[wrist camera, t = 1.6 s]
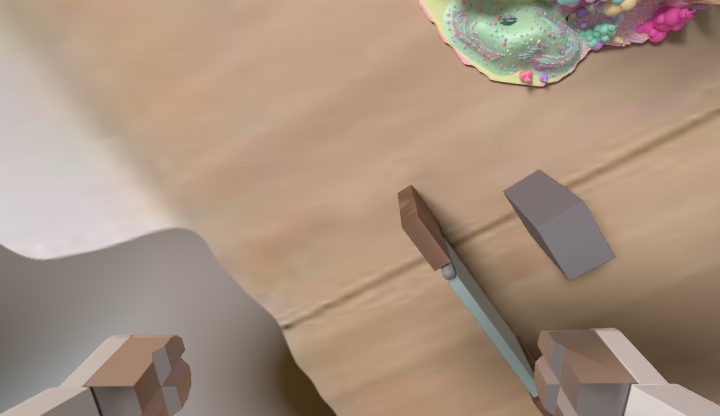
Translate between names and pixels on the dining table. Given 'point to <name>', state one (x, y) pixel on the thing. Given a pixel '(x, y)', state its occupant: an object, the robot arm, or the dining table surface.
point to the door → (488, 318)
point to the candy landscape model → (548, 31)
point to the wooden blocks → (438, 249)
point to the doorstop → (559, 224)
